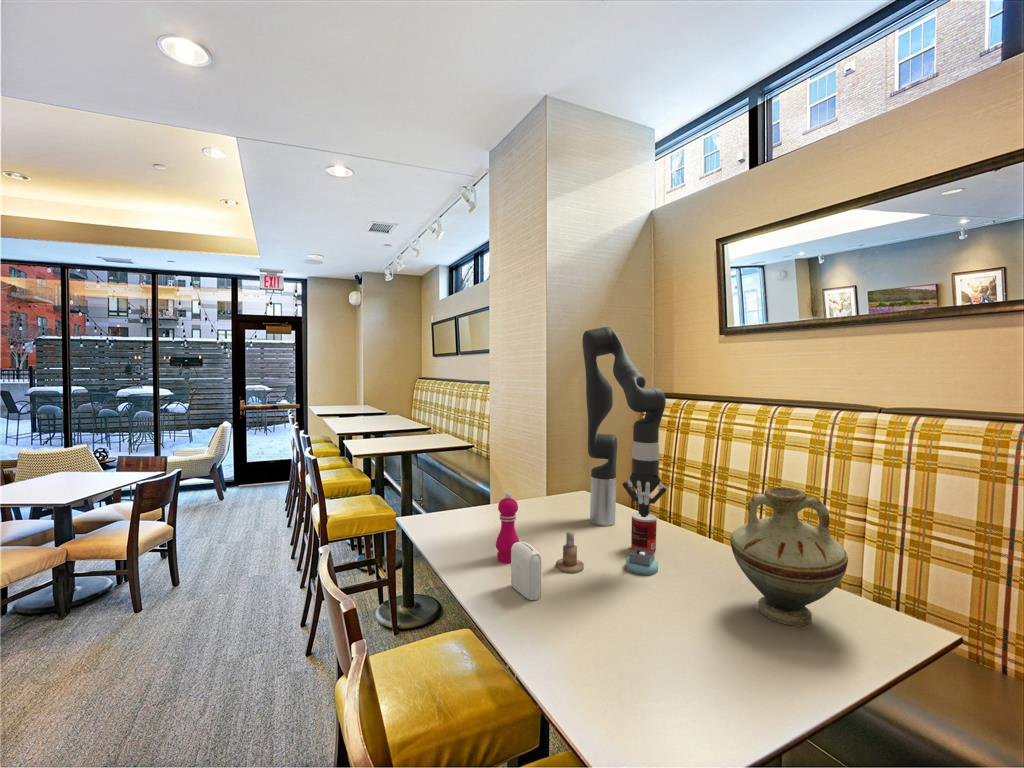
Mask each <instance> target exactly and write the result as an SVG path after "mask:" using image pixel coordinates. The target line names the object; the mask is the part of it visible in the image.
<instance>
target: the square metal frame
mask: <svg viewBox="0 0 1024 768" xmlns="http://www.w3.org/2000/svg"><path fill="white" fill-rule="evenodd" d="M639 552H644V553H645V555H640V554H639ZM655 553H656V551H655V552H654V551H649V550H644V549H639V548H634V549H633V550H632V549H631V551H630V553H629V556H628V557H629V563H632V564H637V565H641V566H646V567H650V566H651V564H652V563H653V561H654V559H655Z"/></svg>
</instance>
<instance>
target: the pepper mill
mask: <svg viewBox="0 0 1024 768" xmlns="http://www.w3.org/2000/svg"><path fill="white" fill-rule="evenodd" d="M497 509H498V512H499V513H500V514H499V520H500V523H501V524H500V531H499V533H498V536H497V538H496V541H495V548H496V550H497V551H498V552H497V554H496V559H497V561H498V562H499V563H503V564H511V548H512V546H513V544H514V543H516V542H520V540H519V536H518V534H517V532H516V528H515V527H516V526H515V524H516V523H515V522H516V520H517V514H516V513H517V512H518V510H519V504H518V502H517V500H516V499H514V498H512V495H511V493H509V492H507V493H506V494H505V498H502V499H500V501H499V503H498V507H497Z"/></svg>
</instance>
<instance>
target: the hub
mask: <svg viewBox="0 0 1024 768" xmlns="http://www.w3.org/2000/svg"><path fill="white" fill-rule="evenodd" d="M639 554H640V555H645V553H644V552H639ZM625 568H626V570H628V571H629V572H630V573H633V574H635V575H641V576H653V575H656V574H657V573H658V572H659V562H658V560H656V558H654V561H653V563H652V564H651V566H650V567H646V566H641V565H637V564H632V563H629V556H627V557H626V559H625Z"/></svg>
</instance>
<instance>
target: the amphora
mask: <svg viewBox="0 0 1024 768" xmlns="http://www.w3.org/2000/svg"><path fill="white" fill-rule="evenodd" d="M761 505H765V506H767V507H769V508H771V509H772V510H773V511H772V512H773V513H772V515H771V516H769V517H763V518H758V516H757V508H758V507H759V506H761ZM806 508H811V509H814V510H815V511H816V514H817V517H818V526H813V525H812V524H809V523H808V522H805V521H801V519H799V517H798V516H799V515H798V514H799V512H801V511H802V510H804V509H806ZM747 511H748V520H747V522H746V523H744V524H741V525H740V526H738V527H737V528H735V529H734V530H733V531H732V533H731V535H730V539H729V542H730V547H731V551H732V554H733V556H734V559H735V561H736V563H737V565H738V567H739V568H740V569H741V571H742V572H743V574H744V575H745V576H746V577H747V579H748V581H749V582H750V583H752V585H753V586H754V587H755V588H756V590H757V591H758V592H760V593H761V595H762V596H761V597H760V598H759V599H758V602H757V604H758V605H757V608H758V610H759V612H760V613H761V614H762V615H763V616H765V617H766V618H768V619H770V620H771V621H774V622H776V623H779V624H783V625H789V626H795V627H797V626H798V627H799V626H801V625H802V626H807V625H808V624H810V623H811V622H812V618H813V617H812V616H813V614H812V612H811V610H810V609H809V608H808V607H807V605H810V604H813V603H815V602H817V601H819V600H821V599H823V598H824V597H826V595H828V594H830V593H831V591H833V590H834V589H835V588H837V586H838V585H839V584H840V582H841V580H842V579H843V577H844V575H845V574H846V572H847V568H848V563H849V556H848V553H847V551H846V550H845V548H844V547H843V546H842V544H841V543H840V542H839V541H837V539H835V538H833V537H832V535H831V533H830V512H829V509H828V508H827V506H826V504H824V503H823V502H822V501H821V500H819V499H818V498H816V497H814V496H808V497H807V494H806V493H805V491H803V490H800V489H798V488H792V487H769V488H766V489H765V490H764V494H763V493H757V494H754V495H753V496H751V497H750V499H748V502H747Z"/></svg>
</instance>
